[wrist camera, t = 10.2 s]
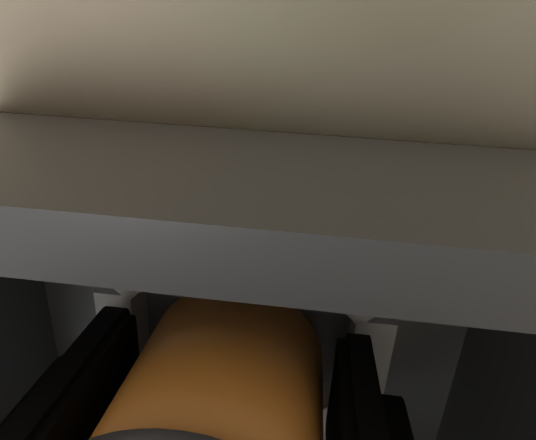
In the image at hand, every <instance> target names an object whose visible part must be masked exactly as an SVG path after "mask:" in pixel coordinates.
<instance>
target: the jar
mask: <svg viewBox="0 0 536 440" xmlns="http://www.w3.org/2000/svg"><path fill="white" fill-rule="evenodd" d="M88 440H323V357H322V349H321V346H320V342H319V339H318V337H317V335H316V332H315V330H314V329H313V327H312V326H311V324H310V323H309V321H308V320H307V319H306V318H305V317H304V315H303V314H302V313H301V312H300V311H299V310H297V309H296V308H287V307H277V306H268V305H259V304H249V303H240V302H231V301H222V300H212V299H203V298H194V297H184V296H182V297H180V298H179V299H177V300H176V301H175V302H174V303H173V304H172V305H171V306H170V307H169V308H168V309H167V311H166V312H165V313H164V315H163V316H162V318H161V320H160V321H159V323H158V325H157V326H156V328H155V330H154V331H153V333H152V335H151V336H150V338H149V340H148V341H147V343H146V345H145V346H144V348H143V350H142V351H141V353H140V355H139V356H138V358H137V360H136V361H135V363H134V365H133V367H132V368H131V370H130V372H129V373H128V375H127V377H126V378H125V380H124V382H123V383H122V385H121V387H120V388H119V390H118V392H117V393H116V395H115V397H114V398H113V400H112V402H111V403H110V405H109V407H108V408H107V410H106V412H105V413H104V415H103V417H102V418H101V420H100V422H99V423H98V425H97V427H96V428H95V430H94V432H93V433H92V435H91V437H90V438H89V439H88Z"/></svg>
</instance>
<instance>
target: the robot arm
mask: <svg viewBox="0 0 536 440" xmlns="http://www.w3.org/2000/svg"><path fill="white" fill-rule="evenodd" d="M138 356H139V344H138V333H137V322H136V317H135V315H132V314H130V311H129V309H127V308H121V307H112V306H104V307H103V308H102V309H101V310H100V311H99V313H98V314H97V315H96V316H95V317H94V319H93V320H92V321H91V322H90V323H89V324H88V326H87V327H86V328H85V329H84V330H83V332H82V333H81V334H80V335H79V336H78V337H77V339H76V340H75V341H74V342H73V343H72V345H71V346H70V347H69V348H68V349H67V350H66V352H65V353H64V354H63V355H62V356H59V357H58V358H57V359H56V360H55V361H53V363H52V364H51V365H50V366H49V367H48V368H47V370H46V371H45V372H44V373H43V374H42V375H41V377H40V378H39V379H38V380H37V381H36V382H35V384H34V385H33V386H32V387H31V388H30V389H29V391H28V392H27V393H26V394H25V395H24V396H23V398H22V399H21V400H20V401H19V402H18V403H17V405H16V406H15V407H14V408H13V409H12V410H11V412H10V413H9V414H8V415H7V416H6V417H5V419H4V420H3V421H2V422H1V423H0V440H88V439H89V438H90V437H91V435H92V433H93V432H94V430H95V428H96V427H97V425H98V423H99V422H100V420H101V418H102V417H103V415H104V413H105V412H106V410H107V408H108V407H109V405H110V403H111V402H112V400H113V398H114V397H115V395H116V393H117V392H118V390H119V388H120V387H121V385H122V383H123V382H124V380H125V378H126V377H127V375H128V373H129V372H130V370H131V368H132V367H133V365H134V363H135V361H136V360H137V358H138ZM325 436H326V440H414V437H413V433H412V429H411V425H410V421H409V417H408V413H407V409H406V405H405V402H404V399H403V398H402V396H395V395H387V394H381V389H380V384H379V378H378V373H377V368H376V362H375V357H374V352H373V346H372V341H371V337H370V335H364V334H355V333H347V334H346V338H338V340H337V346H336V353H335V360H334V367H333V374H332V381H331V388H330V395H329V402H328V410H327V417H326V431H325Z"/></svg>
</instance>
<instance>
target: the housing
mask: <svg viewBox="0 0 536 440" xmlns="http://www.w3.org/2000/svg"><path fill="white" fill-rule="evenodd" d="M182 296H184V297H194V298H203V299H212V300H222V301H231V302H240V303H249V304H259V305H268V306H277V307H287V308H296V309H297V310H299V311H300V312H301V313H302V314H303V315H304V317H305V318H306V319H307V320H308V321H309V323H310V324H311V326H312V327H313V329H314V330H315V332H316V335H317V337H318V339H319V342H320V346H321V349H322V357H323V440H326V436H325V431H326V417H327V410H328V402H329V395H330V388H331V381H332V374H333V367H334V360H335V353H336V346H337V340H338V338H346V334H347V333H355V334H364V335H370V337H371V341H372V346H373V352H374V357H375V362H376V368H377V373H378V378H379V384H380V389H381V394H387V395H395V396H402V398H403V399H404V402H405V405H406V409H407V413H408V417H409V421H410V425H411V429H412V433H413V437H414V440H536V150H525V149H511V148H497V147H483V146H469V145H455V144H441V143H426V142H412V141H398V140H384V139H370V138H356V137H342V136H328V135H313V134H299V133H285V132H271V131H257V130H243V129H229V128H215V127H200V126H186V125H172V124H158V123H144V122H130V121H116V120H102V119H87V118H73V117H59V116H45V115H31V114H17V113H3V112H0V423H1V422H2V421H3V420H4V419H5V417H6V416H7V415H8V414H9V413H10V412H11V410H12V409H13V408H14V407H15V406H16V405H17V403H18V402H19V401H20V400H21V399H22V398H23V396H24V395H25V394H26V393H27V392H28V391H29V389H30V388H31V387H32V386H33V385H34V384H35V382H36V381H37V380H38V379H39V378H40V377H41V375H42V374H43V373H44V372H45V371H46V370H47V368H48V367H49V366H50V365H51V364H52V363H53V361H55V360H56V359H57V358H58V357H59V356H62V355H63V354H64V353H65V352H66V350H67V349H68V348H69V347H70V346H71V345H72V343H73V342H74V341H75V340H76V339H77V337H78V336H79V335H80V334H81V333H82V332H83V330H84V329H85V328H86V327H87V326H88V324H89V323H90V322H91V321H92V320H93V319H94V317H95V316H96V315H97V314H98V313H99V311H100V310H101V309H102V308H103V307H104V306H112V307H121V308H127V309H129V311H130V314H132V315H135V317H136V322H137V333H138V344H139V355H140V353H141V351H142V350H143V348H144V346H145V345H146V343H147V341H148V340H149V338H150V336H151V335H152V333H153V331H154V330H155V328H156V326H157V325H158V323H159V321H160V320H161V318H162V316H163V315H164V313H165V312H166V311H167V309H168V308H169V307H170V306H171V305H172V304H173V303H174V302H175V301H176V300H177V299H179V298H180V297H182Z"/></svg>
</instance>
